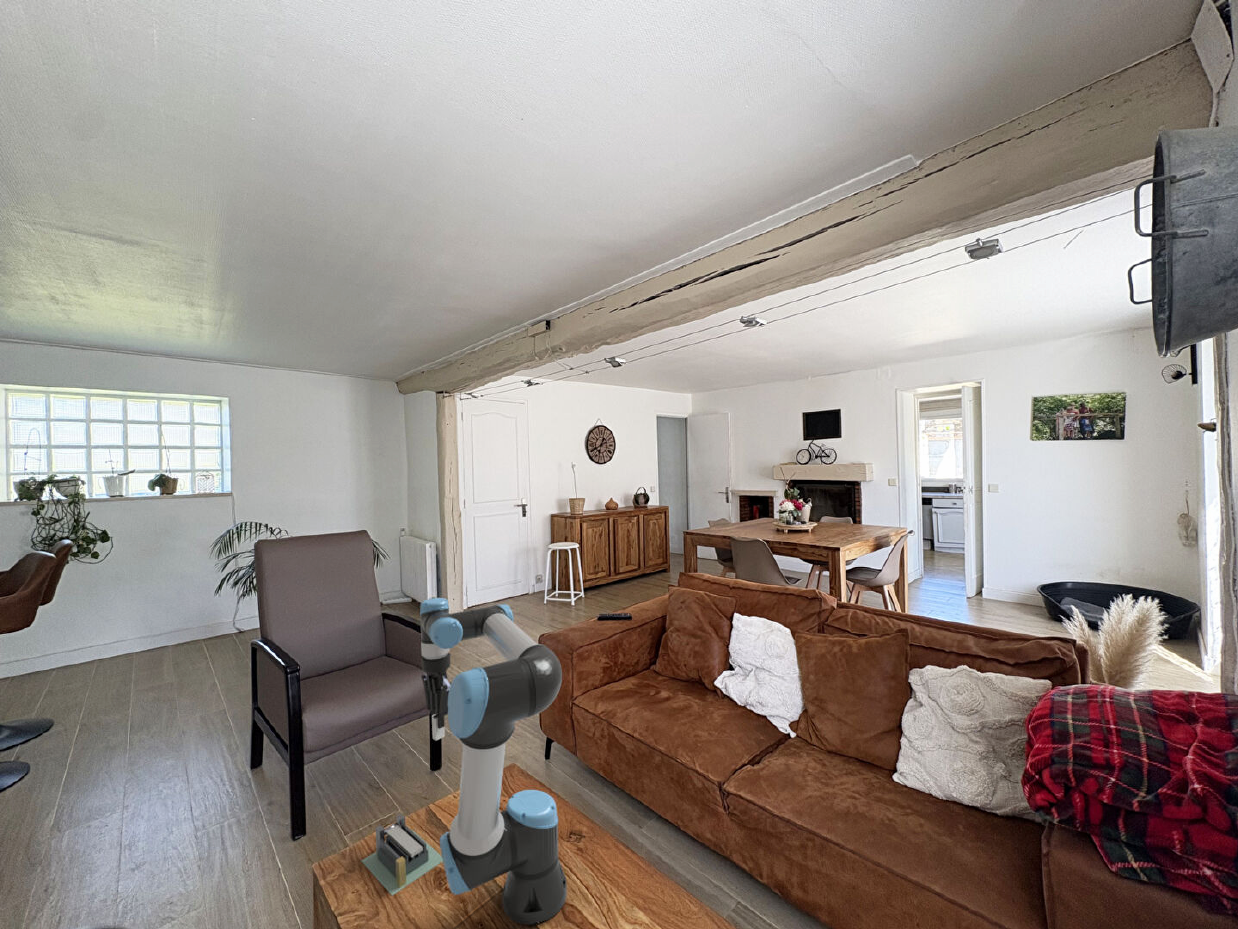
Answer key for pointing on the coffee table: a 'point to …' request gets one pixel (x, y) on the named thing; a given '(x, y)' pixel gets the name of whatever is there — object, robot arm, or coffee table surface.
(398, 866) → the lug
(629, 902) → the coffee table surface
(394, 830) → the grey flat bar
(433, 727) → the robot arm
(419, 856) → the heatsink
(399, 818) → the pivot bracket
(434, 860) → the board
